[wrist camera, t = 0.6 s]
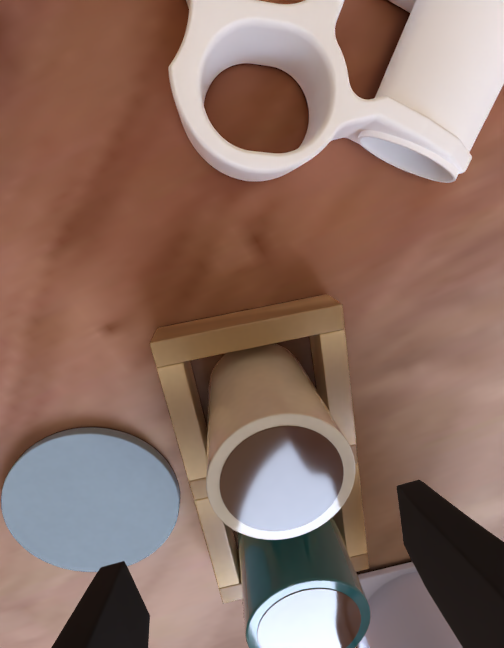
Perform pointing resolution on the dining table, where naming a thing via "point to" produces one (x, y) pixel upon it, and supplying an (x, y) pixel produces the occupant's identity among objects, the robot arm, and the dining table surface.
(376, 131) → the ring tube bracket
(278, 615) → the teal cup
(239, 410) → the cream cup
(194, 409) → the cup holder
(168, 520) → the coaster
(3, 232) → the dining table surface
